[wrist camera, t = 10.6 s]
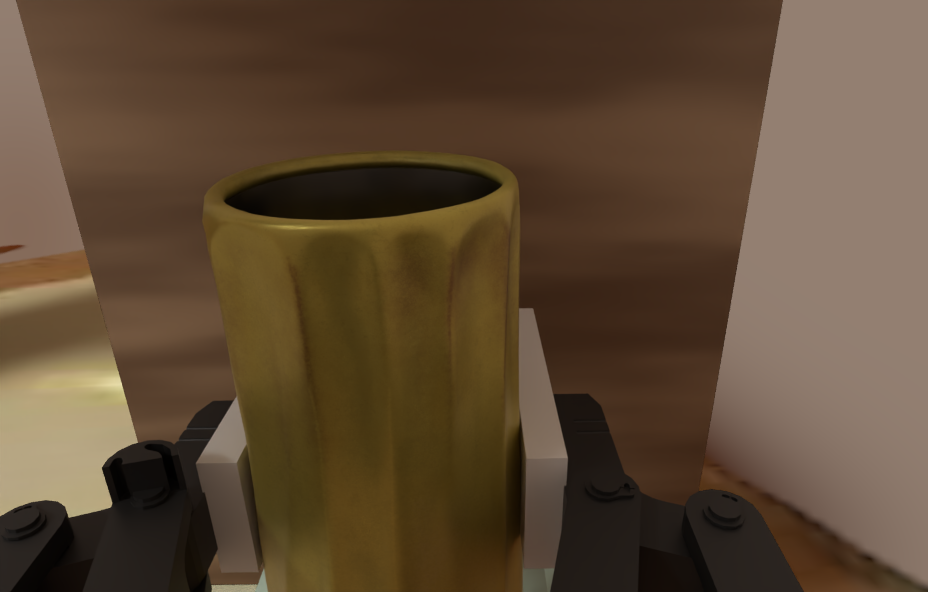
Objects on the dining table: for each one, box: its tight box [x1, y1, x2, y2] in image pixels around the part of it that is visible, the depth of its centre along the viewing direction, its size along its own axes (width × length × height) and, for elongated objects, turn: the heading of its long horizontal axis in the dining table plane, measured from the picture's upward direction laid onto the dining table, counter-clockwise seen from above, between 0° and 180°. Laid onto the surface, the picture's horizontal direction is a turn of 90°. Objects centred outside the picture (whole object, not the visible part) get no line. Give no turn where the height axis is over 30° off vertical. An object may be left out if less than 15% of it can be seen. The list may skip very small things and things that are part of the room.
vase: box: [202, 151, 523, 592], centre depth 13 cm, size 6×6×14 cm
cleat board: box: [16, 0, 783, 592], centre depth 15 cm, size 15×20×24 cm
